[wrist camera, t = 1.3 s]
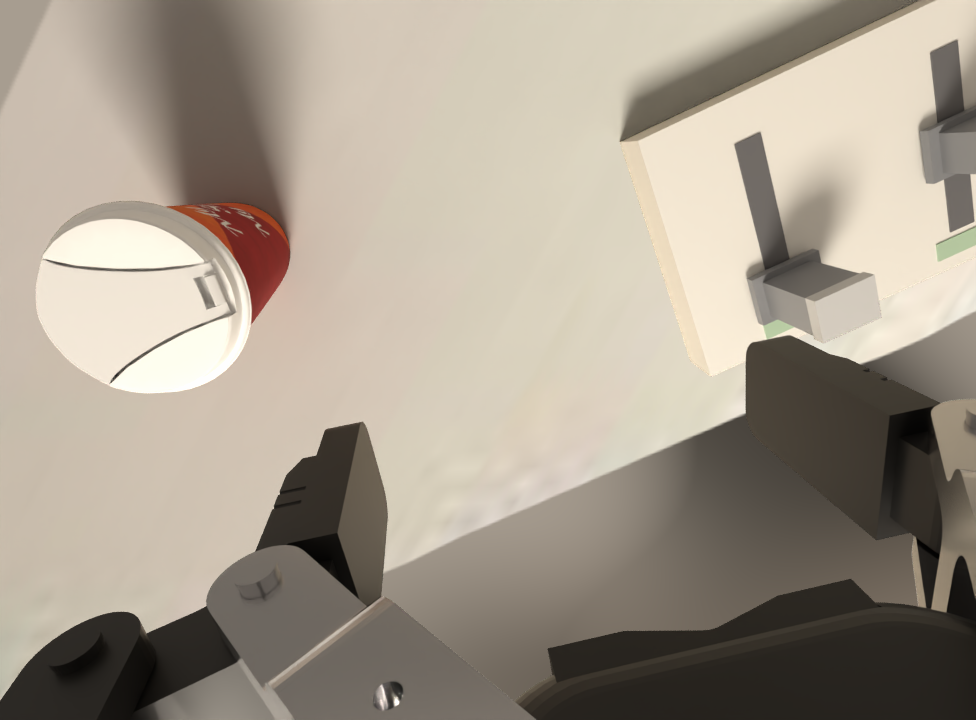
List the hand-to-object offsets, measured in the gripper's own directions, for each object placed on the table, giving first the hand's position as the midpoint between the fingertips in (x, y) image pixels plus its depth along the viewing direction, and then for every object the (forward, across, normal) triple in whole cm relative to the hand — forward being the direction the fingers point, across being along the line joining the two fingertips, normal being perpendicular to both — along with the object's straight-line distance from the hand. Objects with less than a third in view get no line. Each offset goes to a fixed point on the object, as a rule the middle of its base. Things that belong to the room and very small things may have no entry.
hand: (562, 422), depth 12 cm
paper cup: (+26, +13, -2) cm, 29 cm away
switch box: (+25, -24, +1) cm, 35 cm away
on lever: (+22, -19, +6) cm, 30 cm away
